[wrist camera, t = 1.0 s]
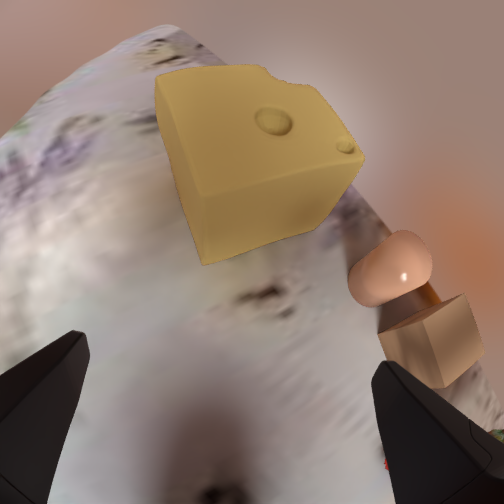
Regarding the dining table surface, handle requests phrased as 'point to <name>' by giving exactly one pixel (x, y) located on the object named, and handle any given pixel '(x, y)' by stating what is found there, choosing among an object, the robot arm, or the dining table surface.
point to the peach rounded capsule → (390, 269)
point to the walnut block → (435, 342)
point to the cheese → (251, 155)
